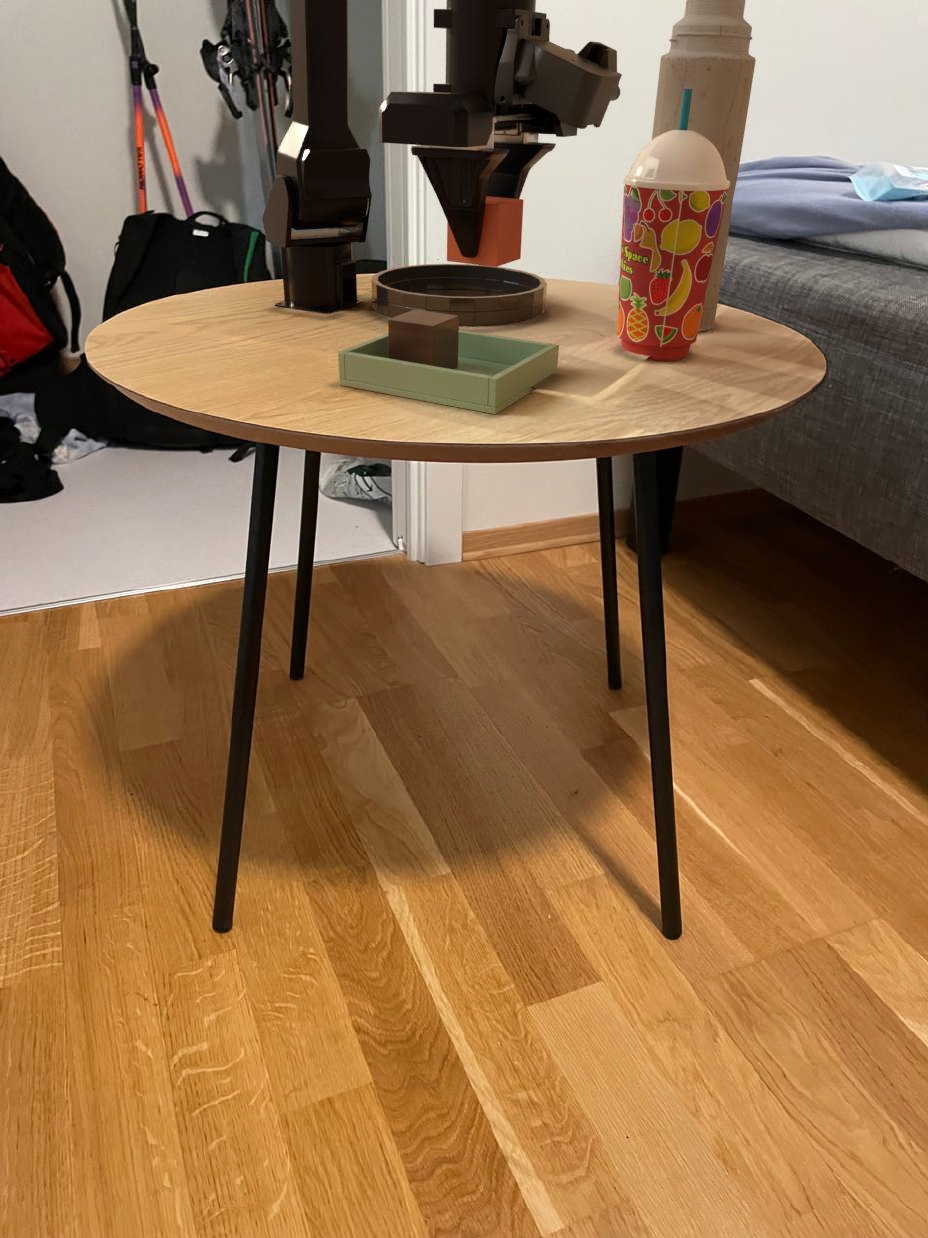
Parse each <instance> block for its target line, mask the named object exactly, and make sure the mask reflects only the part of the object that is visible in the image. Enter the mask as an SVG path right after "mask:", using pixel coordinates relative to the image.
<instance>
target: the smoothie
mask: <svg viewBox="0 0 928 1238" xmlns="http://www.w3.org/2000/svg"><path fill="white" fill-rule="evenodd" d="M692 90H693V89H684V92H683V100H682V108H681V116H680V124H679V129H674V130H671V131H668V132H665V133H663V134H661V135H659V136H657V137H655V138H654V139H653V140H652V139H651V140H650V141H648V143H646V144H645V146H644V147H643V148H641V149H640V151H639V153H638V154H637V155H636V157H635V159H634V161H633V163H632V165H631V167H630V168H629V172H628V173H627V174H626V175H625V176H624V177H623V180H622V181H623V184H624V186H623V197H622V198H623V202H622V222H621V239H620V240H621V243H620V265H619V283H618V304H617V305H618V306H617V324H616V325H617V329H616V336H617V337H618V338H619V339H620V342H621V343H620V344H621V347H622V349H623V350H624V351H627V352H629V353H633V354H636V355H641V356H642V355H643V356H648V357H646V358H645V360H646V361H656V362H667V361H668V362H669V361H678V360H681V359H683V358H685V357H687V356H688V355H689V352H690V349H691V345H692V344H694V343H696V342H697V339H698V335H699V332H698V330H699V325H700V321H701V316H702V311H703V306H704V302H705V297H706V292H707V287H708V283H709V278H710V273H711V269H712V264H713V259H714V254H715V250H716V245H717V240H718V235H719V231H720V226H721V221H722V217H723V212H724V207H725V202H726V197H727V191H728V189H729V186H730V181H729V180H727V178H726V173H725V168H724V164H723V160H722V158H721V156H720V153H719V151H718V150H717V148H716V147H715V145H714V144H713V143H712V142H711V141H710V140H709V139H707V138H706V137H705V136H703V135H701V134H699V133H698V132H695V131H693V130H687V129H688V121H689V113H690V105H691V97H692Z"/></svg>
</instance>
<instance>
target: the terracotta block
mask: <svg viewBox="0 0 928 1238" xmlns="http://www.w3.org/2000/svg"><path fill="white" fill-rule="evenodd" d="M523 217H524V199H522V198H520V199H513V198H501V197H489V196H486V204H485V212H484V219H483V227H482V234H481V240H480V245H479V251H478V255H477V257H475V258H469V257H463V256H462V255H461V253H460V250H459V248H458V246H457V243H456V241H455V238H454V236H453V233H452V231H451V229H450V226H449V224H448V221H447V220H446V221H447V222H446V223H447V224H446V261H447V262H452V263H458V264H472V265H484V266H493V267H502V266H503V265H507V264H510V263H513V262H516V261H519V260H521V257H522V240H523V239H522V237H523V236H522V235H523Z"/></svg>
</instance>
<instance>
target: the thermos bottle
mask: <svg viewBox="0 0 928 1238" xmlns="http://www.w3.org/2000/svg"><path fill="white" fill-rule="evenodd" d="M745 6H746V0H685V8H684V15H683V17H682V18H681V19H680V20H678V21H677V22H675V23H674V24H673V25H672V29H671V38H669V40H668V41H669V42H670V47H669V51H668V52H667V53H665V54H662V55H661V57H660V61H659V62H660V63H659V71H658V80H657V87H656V97H655V107H654V115H653V123H652V131H651V132H652V134H651V140H653V139H654V138H655V137H657V136H659V135H661V134H663V133H665V132H668V131H671V130H674V129H679V124H680V116H681V108H682V100H683V92H684V89H693V90H692V97H691V105H690V113H689V121H688V129H687V130H693V131H695V132H698V133H699V134H701V135H703V136H705V137H706V138H707V139H709V140H710V141H711V142H712V143H713V144H714V145H715V147H716V148H717V150H718V151H719V153H720V156H721V158H722V160H723V164H724V168H725V173H726V178H727V180H729V181H730V186H729V189H728V191H727V197H726V202H725V207H724V212H723V217H722V221H721V226H720V231H719V235H718V240H717V245H716V250H715V254H714V259H713V264H712V269H711V273H710V278H709V283H708V287H707V292H706V297H705V302H704V306H703V311H702V316H701V321H700V325H699V330H698V333H699V332H705V331H708V330H711V329H713V328H714V327H715V322H716V317H717V309H718V304H719V297H720V291H721V285H722V284H721V283H722V277H723V272H724V266H725V259H726V252H727V245H728V239H729V233H730V226H731V216H732V215H731V214H732V207H733V201H734V196H735V190H736V187H737V181H738V176H739V169H740V162H741V157H742V151H743V144H744V137H745V132H746V124H747V118H748V111H749V105H750V100H751V99H750V98H751V94H752V86H753V80H754V74H755V67H756V60H757V59H756V57H754V56H753V55H751V54H750V53H749V51H750V44H751V41H752V40H753V36H752V32H753V31H752V30H753V27H752V25H751V24H750V23H748V22H747V20H746V19H745V18H744V14H745V9H746V7H745Z"/></svg>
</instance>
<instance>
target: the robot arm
mask: <svg viewBox="0 0 928 1238" xmlns="http://www.w3.org/2000/svg"><path fill="white" fill-rule="evenodd" d="M445 4H446V7H445V8H433V28H434V29H443V30H445V83H433V85H432V91H391V92H390V93H389V94H388V95H387V96H386V98H385V99H384V101H383V102H382V103H381V105H380V106H379V107H378V134H379V135H378V136H379V137H378V140H379V143H382V144H398V145H411V146H410V153H411V155H412V156H417V159H418V160H419V163H420V164H421V166H422V169H423V171H424V172H425V173H424V174H425V175H426V177H427V179H428V181H429V183H430V185H431V187H432V190H433V192H434V194H435V196H436V198H437V200H438V202H439V205H440V207H441V209H442V211H443V215H444V216H445V219H446V221H448V224H449V226H450V229H451V231H452V233H453V236H454V238H455V241H456V243H457V246H458V248H459V250H460V253H461V255H462V256H463V257H469V258H475V257H477V255H478V251H479V245H480V240H481V234H482V227H483V219H484V212H485V204H486V196H489V197H501V198H513V199H521V195H522V192H523V190H524V186H525V183H526V182H527V178H528V176H529V173H530V171H531V169H532V168H533V167H534V166H535V165H536V164H537V163H538V162H539V161H540V160H541V159H543V158H544V156H546V155H547V154H548V153H549V152H552V151H553V150H554V149H555V148H556V145H557V144H556V143H553V142H539V135H555V137H556V138H567V137H576V136H578V129H579V130H585V129H587V127H588V126H593V127H594V128H600V127H601V125H602V122H603V120H604V118H605V115H606V112H607V110H608V107H609V105H610V102H614V101H617V100H618V99H619V98H620V96H621V88H620V87H619V85H620V81H621V78H622V77H623V76H622V75H623V74H622V73H621V72H618V51H617V50H616V49H614V48H613V47H611V46H609V45H607V44H604V43H602V42H599V41H591V40H590V41H588V42H587V43H586V44H585V45H584V46H583V47H582V48H581V50H579V51H578V52H577V53H576V51H575V50H573V49H571V48H565V47H563V46H560V45H558V44H556V43H554V42H553V41H550V36H551V35H550V33H551V32H550V31H551V22H550V19H549V18H547V13H545V12H538V11H536V7H537V0H446V3H445ZM289 20H290V21H289V23H290V49H291V51H290V52H291V79H292V80H291V81H292V84H291V85H292V109H293V111H292V112H293V120H292V122H291V124H290V126H289V129H287V132H286V134H285V135H284V137H283V139H282V142H281V144H280V145H279V147H278V149H277V152H276V173H275V174H276V176H275V177H274V180H273V183H272V186H271V189H270V192H269V196H268V199H267V202H266V204H265V208H264V211H263V214H262V219H261V220H262V225H263V230H264V236H265V240H266V242H267V243H270V244H272V245H275V246H278V247H280V256H281V257H280V258H281V270H282V271H281V272H282V286H283V300H282V301H279V302H276V303H274V307H279V308H284V309H291V310H297V311H304V312H310V313H311V312H312V313H318V314H323V315H327V314H333V313H335V312H336V313H337V312H338V311H342V310H344V309H345V310H346V309H348V308H350V307H355V306H357V305H360V304H363V302H364V301H363V300H362V299H358V286H357V285H358V282H357V262H356V260H355V259H353V243H359V244H361V243H363V244H364V243H366V239H367V234H368V226H369V219H370V212H371V206H372V205H371V204H372V196H373V195H372V191H371V185H370V171H371V157H370V155H369V152H368V149H367V148H366V147H365V148H364V147H362V148H361V145H360V144H359V142H358V140H357V138H356V137H355V134H354V133H353V131H352V129H351V127H350V121H349V120H350V119H349V0H289ZM292 230H294V231H292Z"/></svg>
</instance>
